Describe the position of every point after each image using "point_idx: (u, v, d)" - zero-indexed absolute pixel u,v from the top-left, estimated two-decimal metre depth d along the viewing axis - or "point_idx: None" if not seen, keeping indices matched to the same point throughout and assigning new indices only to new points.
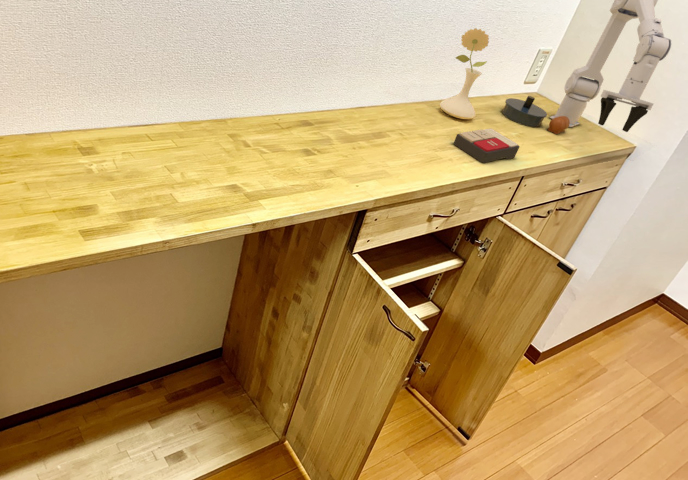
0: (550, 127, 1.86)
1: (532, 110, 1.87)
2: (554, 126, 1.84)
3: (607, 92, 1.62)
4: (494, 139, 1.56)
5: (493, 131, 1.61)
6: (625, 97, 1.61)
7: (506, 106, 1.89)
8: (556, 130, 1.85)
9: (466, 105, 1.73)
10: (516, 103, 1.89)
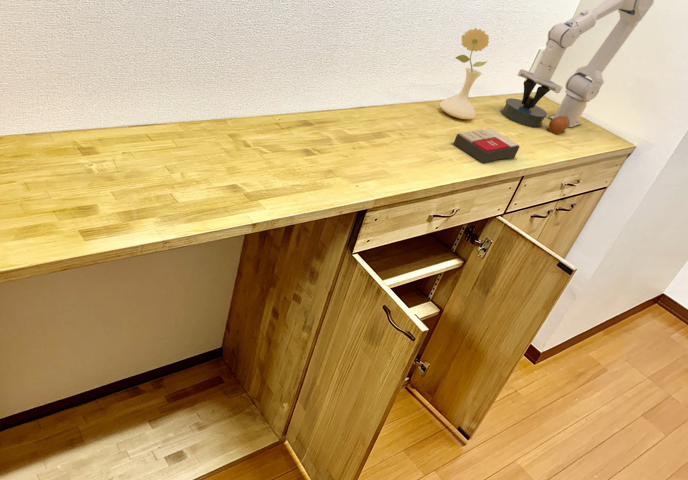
0: (550, 127, 1.86)
1: (532, 110, 1.87)
2: (554, 126, 1.84)
3: (520, 71, 1.85)
4: (494, 139, 1.56)
5: (493, 131, 1.61)
6: (531, 77, 1.82)
7: (506, 106, 1.89)
8: (556, 130, 1.85)
9: (466, 105, 1.73)
10: (516, 103, 1.89)
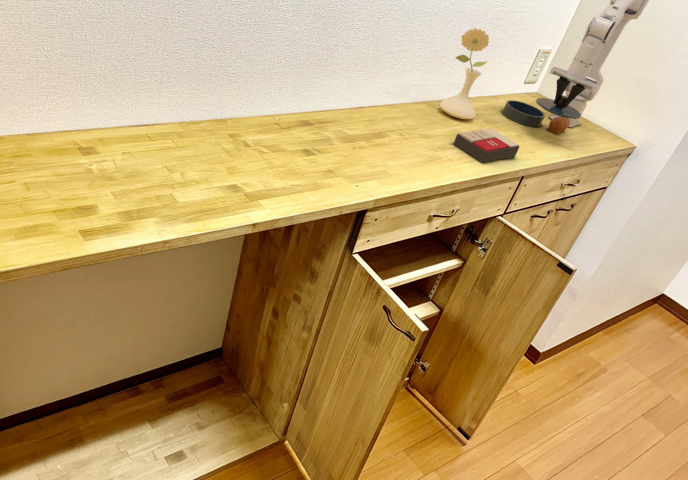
0: (550, 127, 1.86)
1: (565, 110, 1.74)
2: (554, 126, 1.84)
3: (553, 68, 1.72)
4: (494, 139, 1.56)
5: (493, 131, 1.61)
6: (565, 74, 1.69)
7: (506, 106, 1.89)
8: (556, 130, 1.85)
9: (466, 105, 1.73)
10: (548, 103, 1.76)
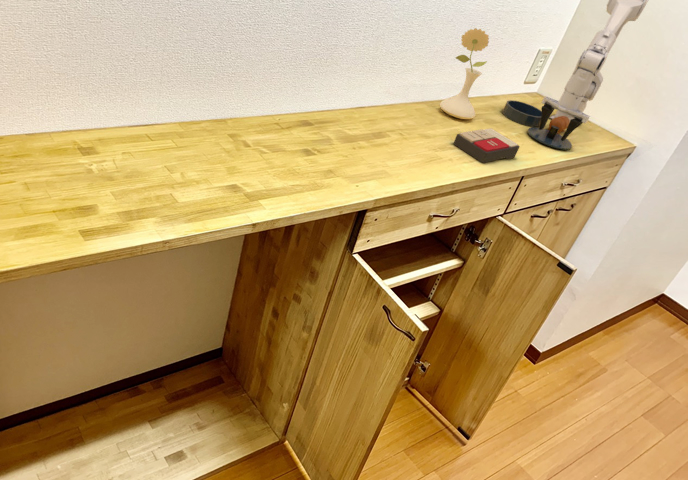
0: (550, 127, 1.86)
1: (556, 141, 1.77)
2: None
3: (544, 98, 1.75)
4: (494, 139, 1.56)
5: (493, 131, 1.61)
6: (556, 105, 1.72)
7: (506, 106, 1.89)
8: None
9: (466, 105, 1.73)
10: (539, 133, 1.79)
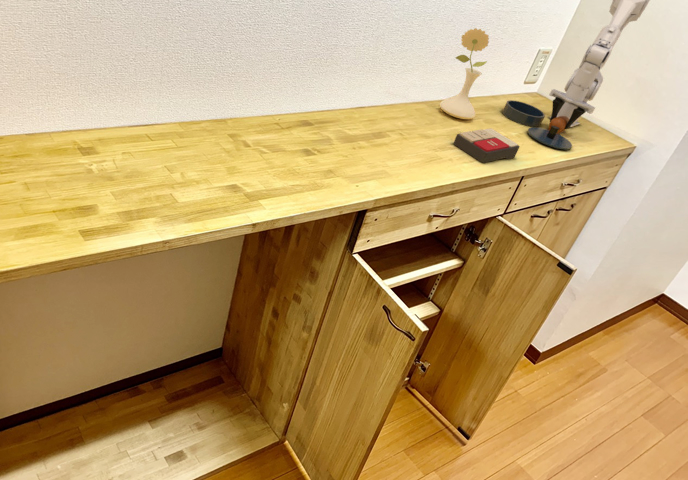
0: (550, 127, 1.86)
1: (556, 141, 1.77)
2: None
3: (552, 91, 1.85)
4: (494, 139, 1.56)
5: (493, 131, 1.61)
6: (564, 97, 1.82)
7: (506, 106, 1.89)
8: None
9: (466, 105, 1.73)
10: (539, 133, 1.79)
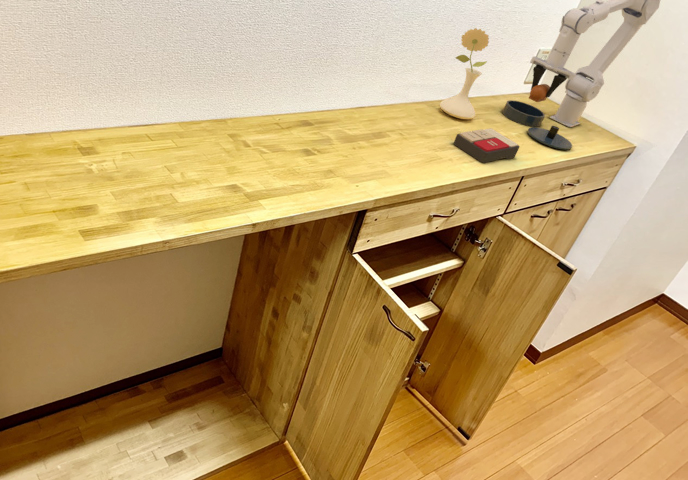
0: (531, 95, 1.83)
1: (556, 141, 1.77)
2: (535, 94, 1.82)
3: (533, 58, 1.82)
4: (494, 139, 1.56)
5: (493, 131, 1.61)
6: (544, 64, 1.79)
7: (506, 106, 1.89)
8: (537, 98, 1.82)
9: (466, 105, 1.73)
10: (539, 133, 1.79)
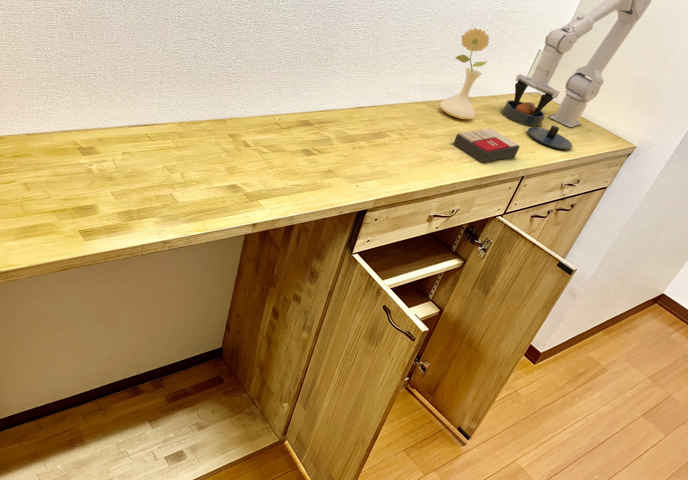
0: None
1: (556, 141, 1.77)
2: None
3: (518, 76, 1.86)
4: (494, 139, 1.56)
5: (493, 131, 1.61)
6: (529, 82, 1.83)
7: (506, 106, 1.89)
8: None
9: (466, 105, 1.73)
10: (539, 133, 1.79)
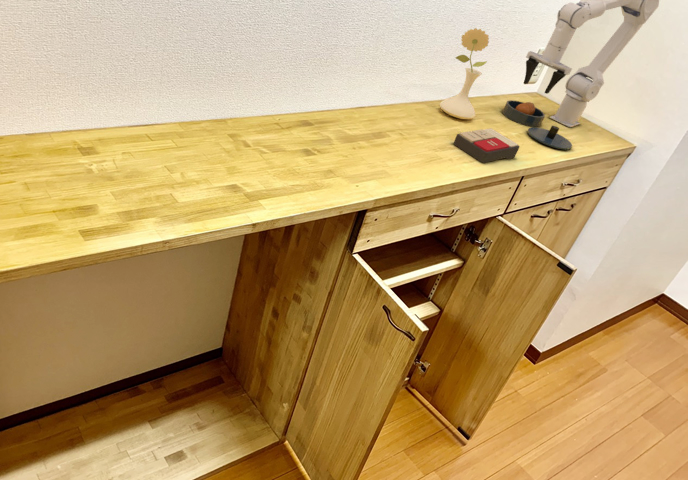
0: None
1: (556, 141, 1.77)
2: None
3: (529, 53, 1.82)
4: (494, 139, 1.56)
5: (493, 131, 1.61)
6: (540, 58, 1.79)
7: (506, 106, 1.89)
8: None
9: (466, 105, 1.73)
10: (539, 133, 1.79)
